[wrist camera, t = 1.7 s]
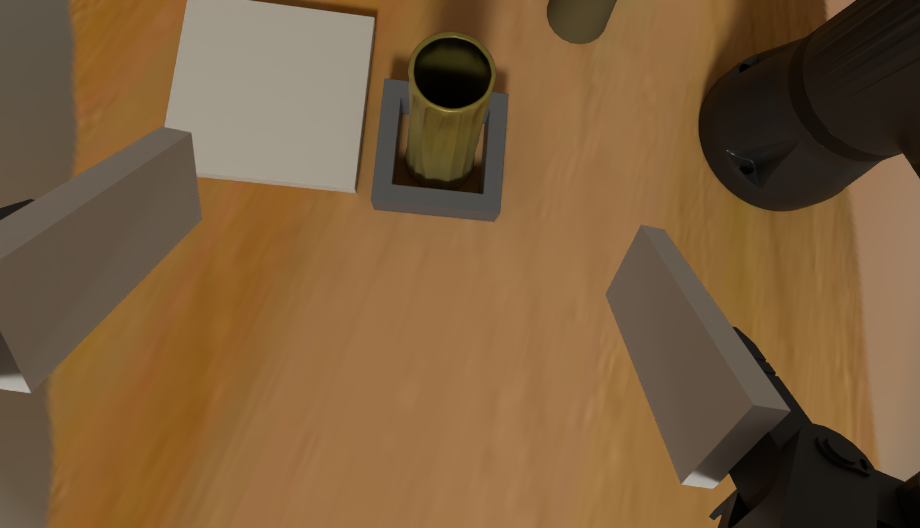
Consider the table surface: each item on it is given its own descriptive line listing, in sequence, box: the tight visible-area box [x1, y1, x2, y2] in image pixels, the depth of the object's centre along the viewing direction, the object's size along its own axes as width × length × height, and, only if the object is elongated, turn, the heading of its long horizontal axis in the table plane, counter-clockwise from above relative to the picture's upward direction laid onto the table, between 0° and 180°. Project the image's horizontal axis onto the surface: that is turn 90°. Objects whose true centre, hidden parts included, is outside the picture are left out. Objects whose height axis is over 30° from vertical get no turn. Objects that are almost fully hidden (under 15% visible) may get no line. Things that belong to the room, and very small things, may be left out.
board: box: [164, 0, 376, 193], centre depth 40 cm, size 16×16×1 cm
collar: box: [371, 79, 508, 222], centre depth 39 cm, size 11×11×3 cm
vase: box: [406, 32, 496, 190], centre depth 34 cm, size 6×6×14 cm
